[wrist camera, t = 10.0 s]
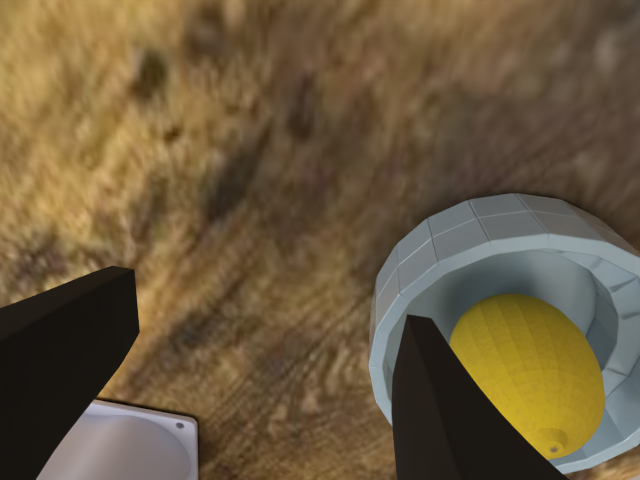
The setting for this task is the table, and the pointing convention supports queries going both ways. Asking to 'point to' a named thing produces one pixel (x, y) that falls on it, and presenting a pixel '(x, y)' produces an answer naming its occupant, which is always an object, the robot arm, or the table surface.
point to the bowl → (521, 278)
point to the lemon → (533, 370)
